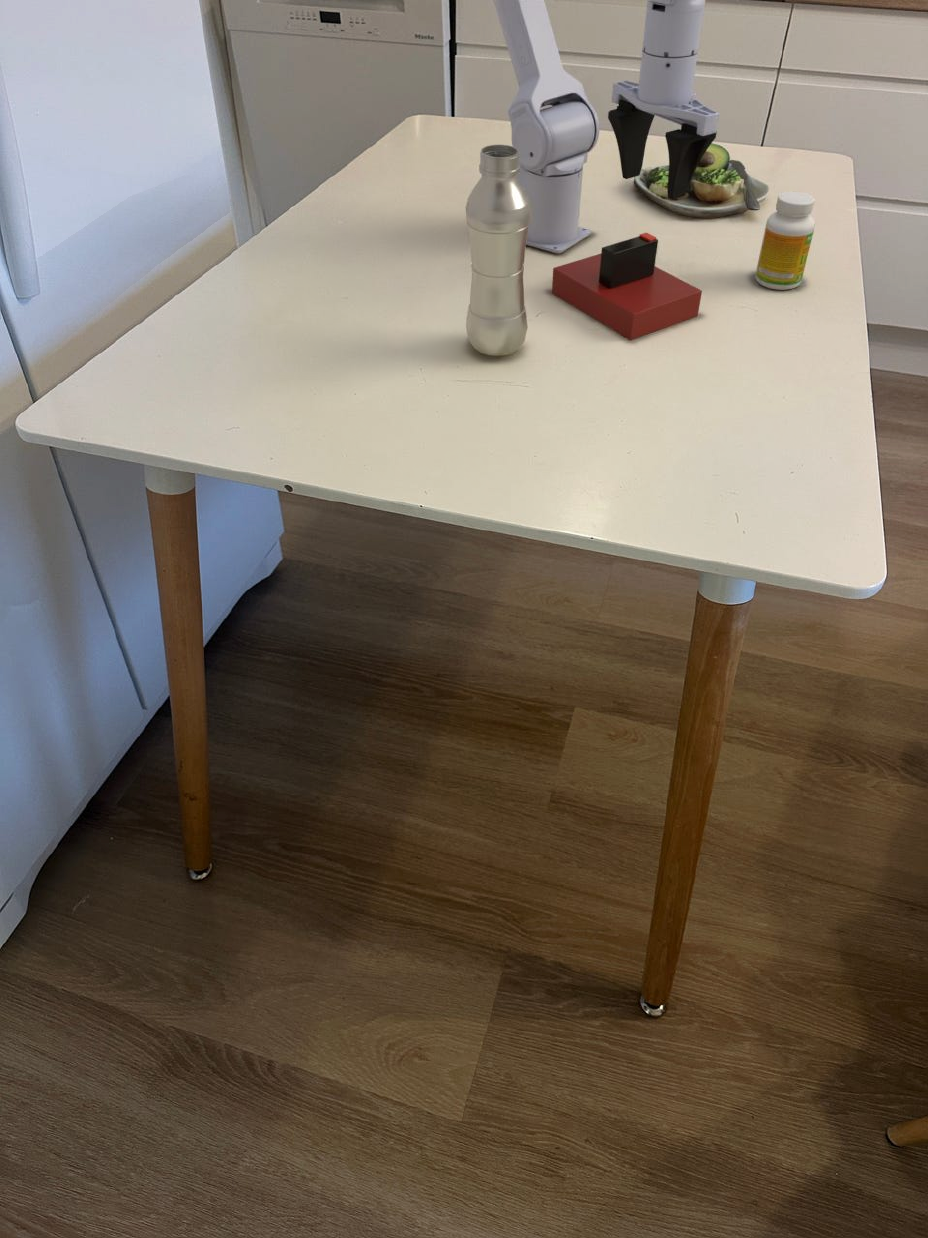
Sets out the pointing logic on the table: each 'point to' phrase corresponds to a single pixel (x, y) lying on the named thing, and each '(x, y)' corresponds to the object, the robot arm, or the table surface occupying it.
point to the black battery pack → (628, 260)
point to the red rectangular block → (627, 298)
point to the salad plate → (706, 187)
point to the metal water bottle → (497, 253)
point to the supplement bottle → (786, 242)
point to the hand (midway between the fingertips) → (653, 186)
